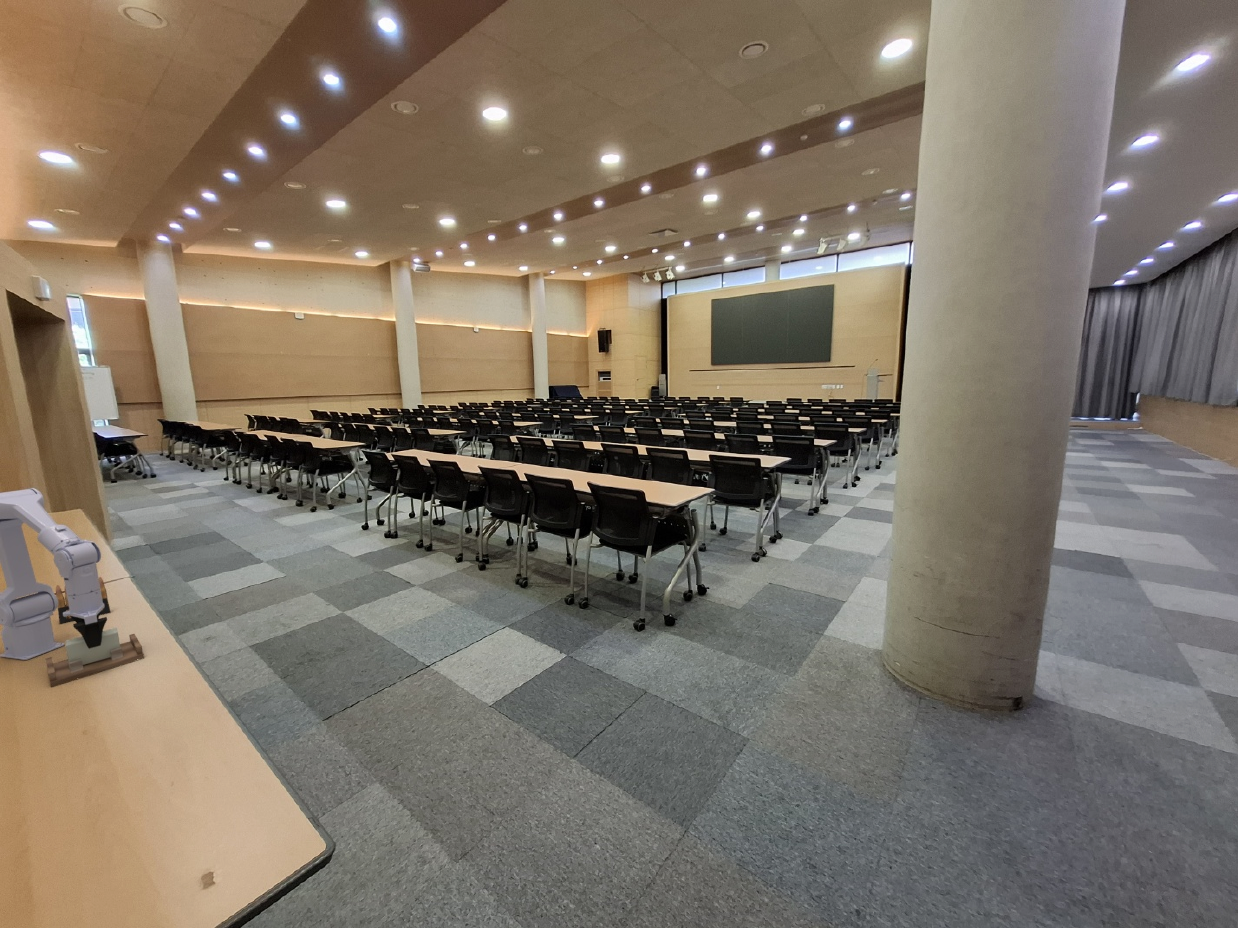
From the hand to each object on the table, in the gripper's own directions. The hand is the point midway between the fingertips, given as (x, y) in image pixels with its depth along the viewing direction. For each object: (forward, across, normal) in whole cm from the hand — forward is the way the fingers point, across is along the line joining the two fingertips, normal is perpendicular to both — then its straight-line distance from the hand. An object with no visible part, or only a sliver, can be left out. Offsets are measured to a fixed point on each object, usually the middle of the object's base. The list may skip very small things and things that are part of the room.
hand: (92, 641), depth 125 cm
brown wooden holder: (+6, 0, 0) cm, 6 cm away
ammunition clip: (+6, -41, +1) cm, 41 cm away
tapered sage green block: (+4, 0, 0) cm, 5 cm away
